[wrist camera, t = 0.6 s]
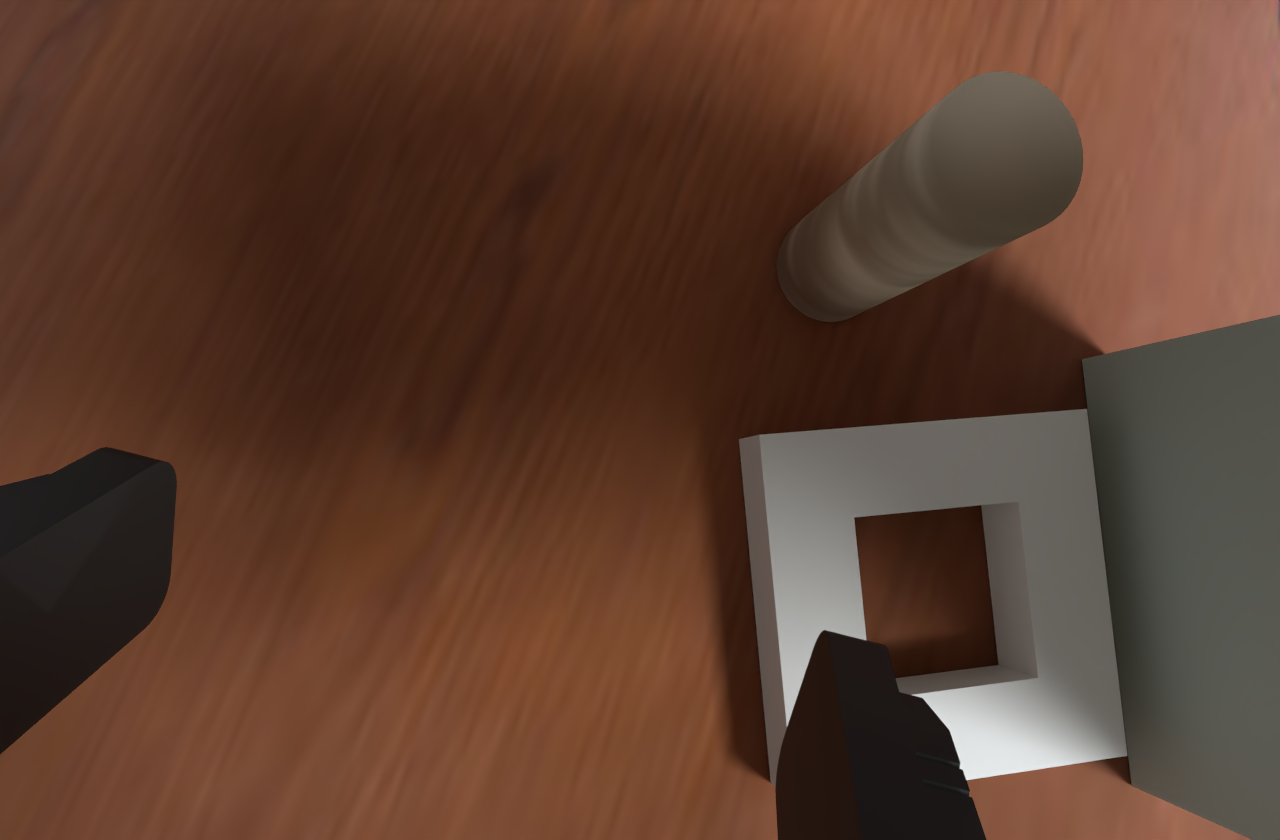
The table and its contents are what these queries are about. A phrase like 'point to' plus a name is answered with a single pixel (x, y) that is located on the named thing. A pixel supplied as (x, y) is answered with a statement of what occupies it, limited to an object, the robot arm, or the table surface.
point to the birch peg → (936, 197)
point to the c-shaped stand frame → (1195, 564)
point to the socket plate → (1017, 565)
